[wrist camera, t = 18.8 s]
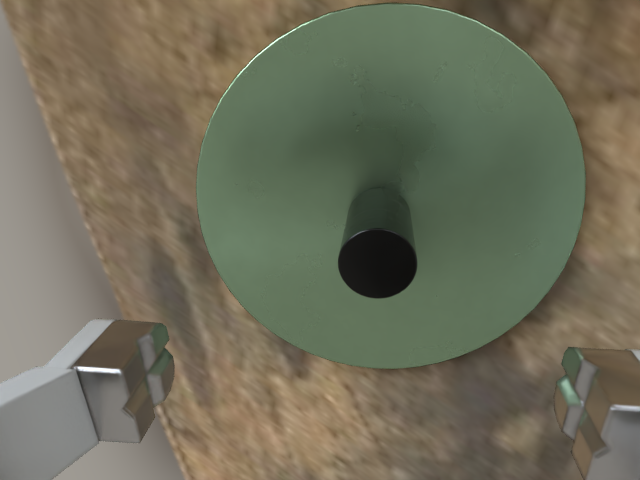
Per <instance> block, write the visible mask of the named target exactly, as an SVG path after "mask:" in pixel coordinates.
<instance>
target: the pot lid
mask: <svg viewBox="0 0 640 480" xmlns="http://www.w3.org/2000/svg"><path fill="white" fill-rule="evenodd" d="M585 183H586V172H585V164H584V157H583V150H582V145H581V142H580V138H579V135H578V132H577V128H576V125H575V122H574V119H573V117H572V115H571V113H570V111H569V109H568V107H567V105H566V103H565V101H564V99H563V96H562V95H561V93H560V92H559V91H558V89H557V88H556V86H555V85H554V83H553V82H552V81H551V79H550V78H549V76H548V75H547V73H546V72H545V71H544V70H543V69H542V68H541V67H540V66H539V65H538V64H537V63H536V62H535V61H534V60H533V59H532V58H531V57H530V55H529V54H528V53H527V52H526V51H524V50H523V49H522V48H520V47H519V46H518V45H516V44H515V43H514V42H512V41H511V40H510V39H508V38H507V37H506V36H504V35H503V34H501V33H500V32H498V31H496V30H494V29H492V28H490V27H489V26H487V25H485V24H483V23H481V22H479V21H477V20H475V19H472V18H470V17H467V16H464V15H461V14H458V13H456V12H453V11H450V10H447V9H441V8H436V7H431V6H426V5H421V4H409V3H378V4H368V5H358V6H354V7H350V8H346V9H342V10H338V11H334V12H330V13H327V14H325V15H322V16H320V17H317V18H315V19H312V20H310V21H307V22H305V23H303V24H301V25H299V26H297V27H295V28H294V29H292V30H290V31H289V32H287V33H285V34H284V35H282V36H280V37H278V38H277V39H276V40H274V41H273V42H272V43H271V44H269V45H268V46H267V47H266V48H264V49H263V50H262V51H261V52H259V53H258V54H257V55H256V56H255V57H254V58H253V59H252V60H251V61H250V62H249V63H248V64H247V65H246V66H245V67H244V68H243V69H242V70H241V71H240V72H239V73H238V75H237V76H236V77H235V79H234V80H233V81H232V83H231V84H230V86H229V87H228V88H227V90H226V91H225V93H224V94H223V96H222V97H221V99H220V101H219V103H218V105H217V107H216V109H215V111H214V113H213V115H212V117H211V119H210V121H209V124H208V127H207V130H206V133H205V135H204V138H203V141H202V146H201V150H200V155H199V160H198V165H197V181H196V195H197V210H198V216H199V221H200V226H201V231H202V235H203V237H204V240H205V243H206V246H207V249H208V252H209V255H210V257H211V259H212V261H213V263H214V265H215V267H216V269H217V271H218V273H219V275H220V276H221V278H222V279H223V281H224V283H225V284H226V286H227V287H228V289H229V290H230V292H231V293H232V294H233V295H234V296H235V298H236V299H237V300H238V301H239V303H240V304H241V305H242V306H243V307H244V308H245V309H246V310H247V311H248V312H249V313H250V314H251V315H252V316H253V317H254V318H255V319H256V320H257V321H258V322H260V323H261V324H262V325H263V326H265V327H266V328H267V329H269V330H270V331H271V332H272V333H274V334H275V335H277V336H278V337H280V338H282V339H283V340H285V341H287V342H288V343H290V344H292V345H294V346H296V347H298V348H300V349H302V350H304V351H306V352H308V353H310V354H313V355H316V356H319V357H322V358H325V359H327V360H330V361H334V362H338V363H343V364H347V365H351V366H358V367H366V368H379V369H399V368H412V367H419V366H425V365H430V364H435V363H440V362H443V361H446V360H450V359H453V358H456V357H459V356H462V355H464V354H466V353H469V352H471V351H474V350H476V349H478V348H480V347H482V346H484V345H486V344H487V343H489V342H491V341H493V340H495V339H496V338H498V337H500V336H501V335H502V334H504V333H505V332H507V331H508V330H509V329H511V328H512V327H514V326H515V325H516V324H518V323H519V322H520V321H521V320H522V319H523V318H524V317H525V316H526V315H528V314H529V313H530V312H531V311H532V310H533V309H534V308H535V307H536V306H537V305H538V303H539V302H540V301H541V300H542V299H543V298H544V296H545V295H546V294H547V293H548V292H549V291H550V289H551V288H552V286H553V285H554V283H555V282H556V280H557V278H558V277H559V275H560V274H561V272H562V271H563V269H564V267H565V265H566V263H567V261H568V259H569V256H570V254H571V252H572V250H573V248H574V245H575V242H576V239H577V236H578V232H579V229H580V226H581V222H582V216H583V210H584V203H585Z"/></svg>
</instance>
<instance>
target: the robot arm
mask: <svg viewBox="0 0 640 480" xmlns="http://www.w3.org/2000/svg"><path fill="white" fill-rule="evenodd" d="M168 341H169V336H168V332H167V328H166V326H165V325H163V324H162V323H153V322H141V321H128V320H113V319H94V320H91V321H90V322H89V323H88V324H87V325H86V326H85V327H84V328H83V329H82V330H81V331H80V332H79V333H77V334H76V336H75V337H73V338H72V339H71V340H70V341H69V342H68V343H67V345H65V346H64V347H63V348H62V349H61V350H60V351H59V352H58V353H57V354H56V355H55V356H54V357H53V358H52V359H51V360H50V361H49V362H48V363H47V364H46V365H45V366H44V367H34V368H32V369H30V370H28V371H26V372H23V373H21V374H19V375H17V376H15V377H12V378H10V379H8V380H6V381H4V382H1V383H0V480H52V479H53V478H54V477H56V476H57V475H58V474H60V473H61V472H62V471H63V470H65V469H66V468H67V467H69V466H70V465H71V464H73V463H74V462H75V461H76V460H78V459H79V458H80V457H82V456H83V455H84V454H86V453H87V452H88V451H89V450H91V449H92V448H93V447H95V446H96V445H97V444H99V441H110V442H111V441H112V442H127V443H140V442H141V440H142V438H143V437H144V435H145V434H146V432H147V430H148V428H149V427H150V425H151V423H152V422H153V420H154V418H155V414H154V409H153V408H154V407H155V406H157V405H159V404H160V403H162V402H163V401H165V399H166V398H167V396H168V394H169V392H170V390H171V387H172V383H173V380H174V366H175V365H174V360H173V356H172V355H171V354H170V353H169V352H168V351H167V350H166V349H165V348H164V347H165V345H166V344H167V342H168ZM561 364H562V366H563V368H564V370H565V372H566V375H565V376H563V377H562V378H561V379H559V380H558V381H557V382H556V387H555V392H554V411H555V415H556V419H557V422H558V424H559V427H560V429H561V431H562V432H563V433H564V434H565V435H566V436H568V437H569V438H570V439H571V440H573V441H574V443H573V446H572V450H571V454H572V456H573V458H574V460H575V462H576V464H577V467H578V469H579V471H580V473H581V475H582V477H583V480H640V350H638V349H625V350H615V349H596V348H578V347H568V349H567V350H566V351H565V353H564V356H563V360H562V363H561Z"/></svg>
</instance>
